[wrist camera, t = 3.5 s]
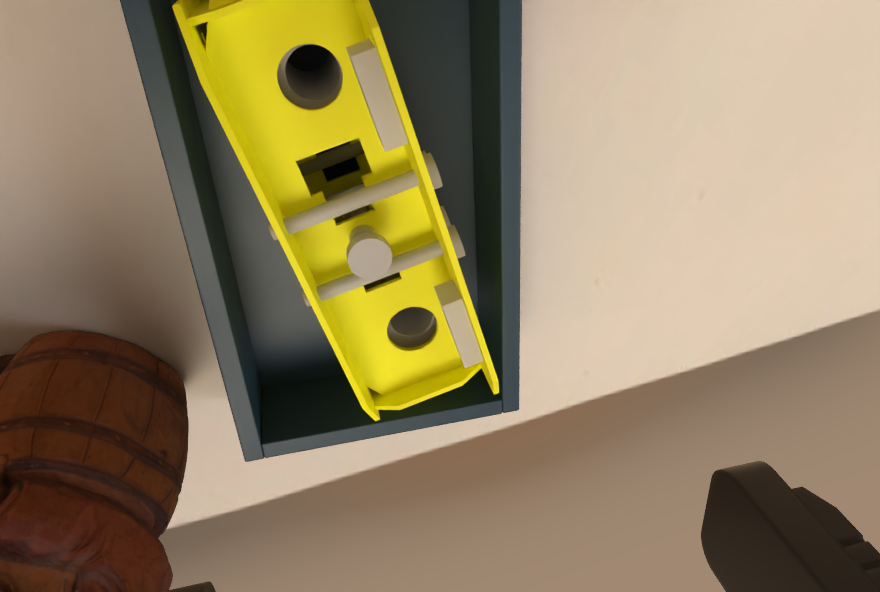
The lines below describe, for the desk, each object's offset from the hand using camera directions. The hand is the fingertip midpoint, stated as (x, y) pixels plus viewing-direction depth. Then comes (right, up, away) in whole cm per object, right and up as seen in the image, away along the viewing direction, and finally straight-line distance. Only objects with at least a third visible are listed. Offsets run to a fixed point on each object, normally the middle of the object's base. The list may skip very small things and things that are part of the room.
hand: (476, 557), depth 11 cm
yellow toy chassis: (-4, +9, +17) cm, 20 cm away
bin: (-4, +9, +17) cm, 20 cm away
